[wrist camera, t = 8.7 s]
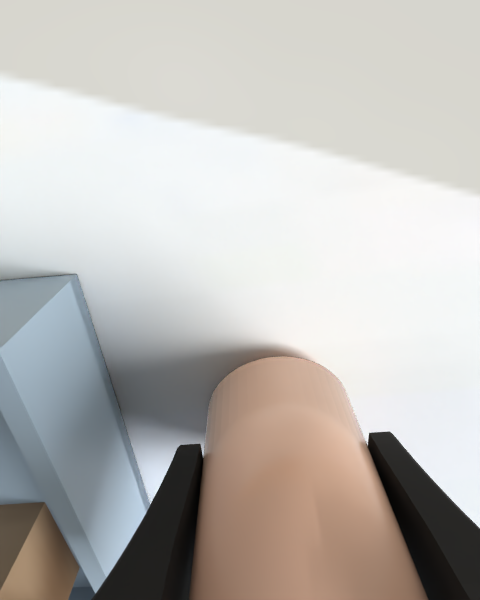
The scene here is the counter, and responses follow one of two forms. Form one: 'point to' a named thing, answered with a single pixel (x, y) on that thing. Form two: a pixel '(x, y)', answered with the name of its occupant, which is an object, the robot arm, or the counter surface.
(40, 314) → the tote
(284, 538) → the terracotta cylinder
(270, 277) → the counter surface
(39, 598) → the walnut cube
